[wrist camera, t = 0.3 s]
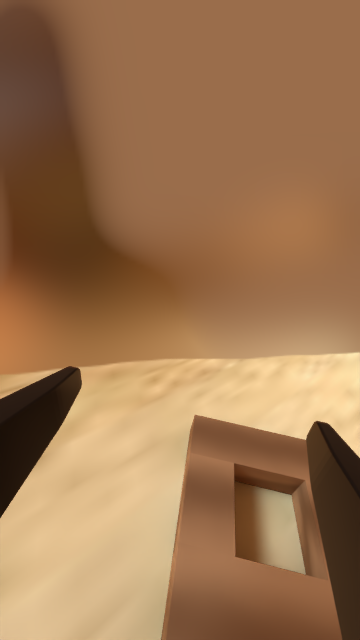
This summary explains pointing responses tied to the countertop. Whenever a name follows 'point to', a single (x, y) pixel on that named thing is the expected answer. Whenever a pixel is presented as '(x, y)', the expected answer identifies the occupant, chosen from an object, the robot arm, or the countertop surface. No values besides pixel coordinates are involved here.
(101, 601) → the countertop surface
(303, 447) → the hole block
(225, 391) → the countertop surface
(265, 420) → the countertop surface
